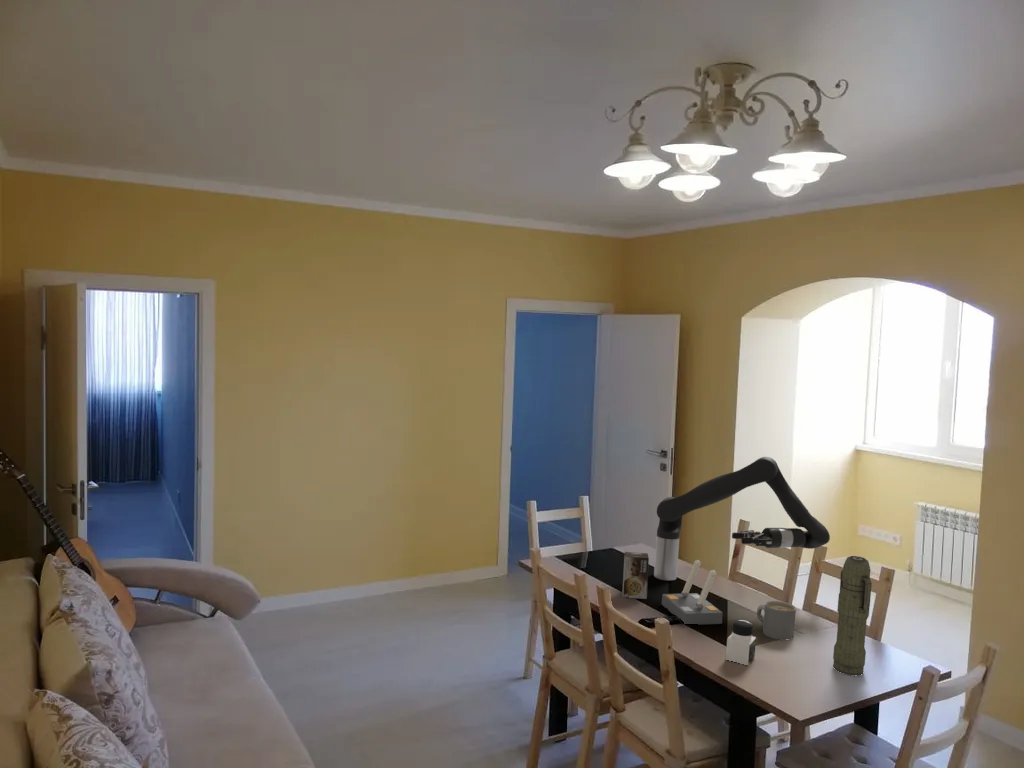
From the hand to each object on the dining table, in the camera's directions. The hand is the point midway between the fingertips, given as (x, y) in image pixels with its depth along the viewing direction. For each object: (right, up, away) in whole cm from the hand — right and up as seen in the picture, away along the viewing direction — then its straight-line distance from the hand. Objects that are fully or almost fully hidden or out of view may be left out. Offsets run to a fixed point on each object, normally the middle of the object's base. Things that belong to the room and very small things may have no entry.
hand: (737, 538), depth 288 cm
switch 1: (-20, -20, -3) cm, 29 cm away
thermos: (+20, -31, -50) cm, 62 cm away
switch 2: (-18, -21, -15) cm, 31 cm away
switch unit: (-19, -26, -8) cm, 33 cm away
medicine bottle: (-13, -29, -47) cm, 56 cm away
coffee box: (-37, -24, +8) cm, 45 cm away
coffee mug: (+6, -28, -22) cm, 36 cm away
